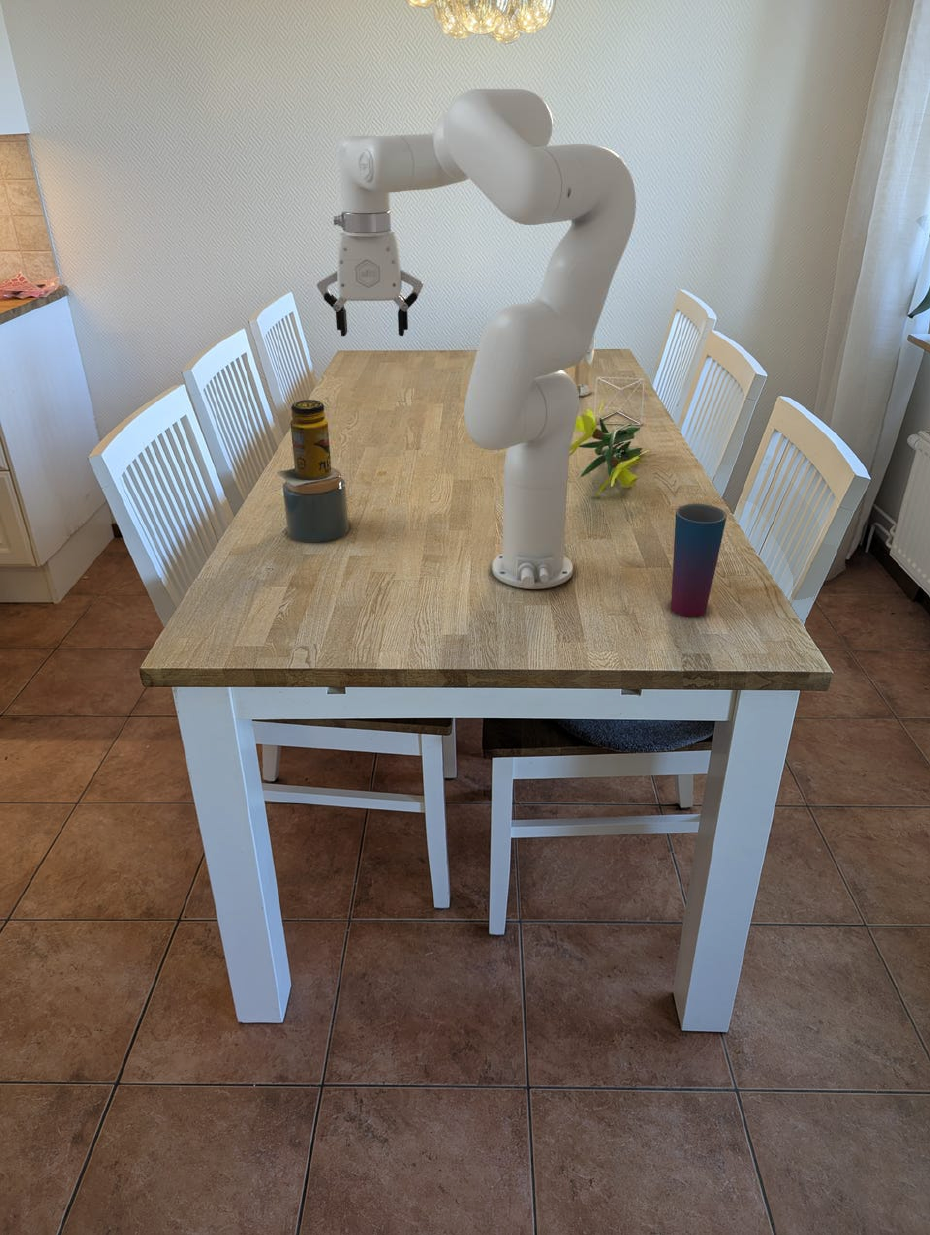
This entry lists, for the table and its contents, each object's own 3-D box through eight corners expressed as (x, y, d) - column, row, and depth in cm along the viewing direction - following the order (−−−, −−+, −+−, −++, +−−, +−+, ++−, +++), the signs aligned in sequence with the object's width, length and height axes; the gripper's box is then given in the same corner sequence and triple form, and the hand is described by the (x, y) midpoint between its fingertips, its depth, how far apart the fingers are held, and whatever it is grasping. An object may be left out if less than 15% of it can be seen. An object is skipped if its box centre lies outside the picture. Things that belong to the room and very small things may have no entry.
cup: (678, 592, 137) (690, 499, 130) (720, 606, 134) (735, 511, 126) (656, 610, 133) (667, 514, 125) (699, 625, 129) (712, 527, 121)
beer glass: (558, 391, 231) (561, 330, 224) (582, 388, 234) (585, 327, 226) (572, 398, 226) (575, 336, 218) (596, 395, 228) (600, 333, 221)
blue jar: (344, 542, 153) (340, 486, 148) (282, 542, 153) (276, 486, 148) (351, 517, 162) (347, 464, 157) (293, 518, 162) (287, 464, 157)
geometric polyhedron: (653, 419, 211) (656, 380, 206) (629, 431, 203) (633, 390, 199) (606, 410, 218) (608, 371, 213) (581, 421, 210) (584, 381, 206)
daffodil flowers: (677, 462, 188) (656, 475, 156) (612, 493, 194) (579, 512, 162) (643, 387, 187) (614, 385, 155) (579, 420, 193) (538, 425, 161)
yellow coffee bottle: (341, 476, 152) (335, 405, 146) (294, 487, 148) (286, 414, 142) (321, 463, 158) (315, 395, 152) (276, 473, 154) (268, 403, 148)
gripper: (308, 227, 142) (318, 340, 150) (420, 226, 141) (423, 339, 150) (315, 221, 148) (324, 329, 157) (422, 220, 148) (425, 329, 156)
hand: (372, 334), depth 153 cm, fingers open, 9 cm apart
